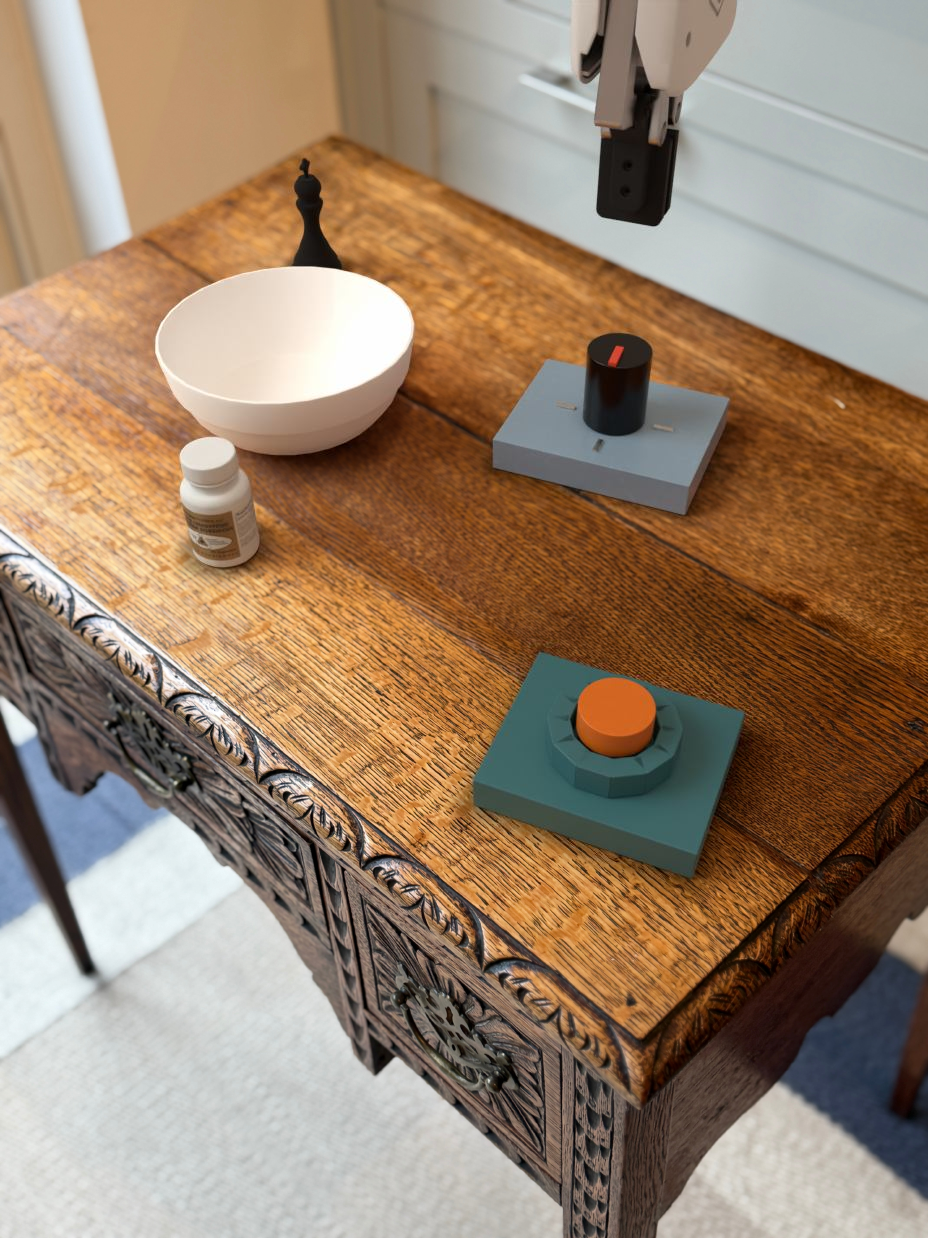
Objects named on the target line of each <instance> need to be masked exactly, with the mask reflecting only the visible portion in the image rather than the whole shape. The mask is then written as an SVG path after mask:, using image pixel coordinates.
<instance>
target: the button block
mask: <svg viewBox="0 0 928 1238" xmlns="http://www.w3.org/2000/svg"><path fill="white" fill-rule="evenodd" d="M606 678H623V679H627V680H630V681H633V682H635V683H638V684H639V685H641V686H642V687H644V688H645V689H646V690H647V691H648V692H649V693H650V694H651V696H652V697H653V699H654V702H655V705H656V716H655V722H654V729H653V735H652V738H651V740H650V742H649V743H648V745H647V746H646V747H645V748H644V749H643V750H641V751H640V752H638V753H636V754H634V755H631V756H627V757H608V756H604V755H601V754H598V753H596V752H594V751H592V750H591V749H589V748H588V747H587V746H586V745H585V744H584V743H583V742H582V740H581V739H580V737H579V735H578V733H577V729H576V721H577V709H578V700H579V697H580V695H581V693H582V692H583V691H584V689H585V688H586V687H587V686H589V685H590V684H592V683H594V682H595V681H598V680H601V679H606ZM745 718H746V712H745V711H743V710H739V709H736V708H734V707H729V706H727V705H726V706H725V705H723V704H719V703H716V702H711V701H709V700H705V699H702V698H699V697H696V696H693V695H692V696H691V695H688V694H685V693H682V692H678V691H675V690H671V689H669V688H665V687H662V686H658V685H655V684H652V683H650V682H648V681H645V680H643V679H638V678H635V677H632V676H628V675H624V674H622V673H613V672H610V671H607V670H604V669H600V668H597V667H594V666H590V665H586V664H583V663H580V662H577V661H573V660H569V659H566V658H563V657H559V656H555V655H552V654H549V653H545V652H542V651H539V652H538V653H537V656H536V658H535V659H534V661H533V664H532V665H531V667H530V669H529V671H528V673H527V675H526V677H525V679H524V681H523V683H522V684H521V686H520V689H519V690H518V691H517V694H516V695H515V698H514V700H513V701H512V704H511V706H510V708H509V710H508V711H507V714H506V716H505V717H504V719H503V721H502V723H501V725H500V727H499V729H498V731H497V733H496V734H495V736H494V737H493V740H492V742H491V744H490V746H489V748H488V750H487V752H486V754H485V755H484V757H483V759H482V761H481V763H480V765H479V767H478V769H477V771H476V773H475V774H474V777H473V778H472V805H473V806H475V807H478V808H481V809H484V810H487V811H490V812H493V813H496V814H499V815H502V816H505V817H508V818H510V819H513V820H516V821H519V822H523V823H525V824H529V825H531V826H533V827H538V828H540V829H543V830H546V831H548V832H552V833H555V834H558V835H560V836H564V837H567V838H570V839H572V840H576V841H579V842H582V843H585V844H587V845H590V846H594V847H596V848H599V849H602V850H604V851H608V852H610V853H614V854H617V855H619V856H622V857H625V858H628V859H632V860H635V861H637V862H640V863H644V864H647V865H649V866H653V867H655V868H659V869H661V870H664V871H667V872H670V873H673V874H676V875H679V876H681V877H685V878H688V879H692V880H693V878H694V875H695V873H696V870H697V867H698V865H699V861H700V858H701V855H702V851H703V848H704V845H705V844H706V840H707V837H708V834H709V831H710V828H711V825H712V822H713V819H714V816H715V813H716V811H717V807H718V804H719V800H720V798H721V796H722V792H723V789H724V786H725V783H726V780H727V776H728V774H729V771H730V769H731V765H732V762H733V759H734V756H735V753H736V751H737V750H736V749H737V747H738V744H739V741H740V737H741V733H742V729H743V726H744V721H745Z"/></svg>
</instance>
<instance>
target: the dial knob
mask: <svg viewBox="0 0 928 1238" xmlns="http://www.w3.org/2000/svg"><path fill="white" fill-rule="evenodd" d="M653 354H654V351H653V348H652V345H651V344H650V343H649V342H648V341H647V340H645V339H644V338H642V337H640V336H638V335H635V334H631V333H625V332H611V333H610V332H609V333H603V334H601V335H599V336H597V337H594V338H593V339H592V340H591V341H589V343H588V345H587V348H586V361H585V367H586V373H585V388H584V402H583V420H584V422H585V424H586V425H587V426H588V427H589V428H591V429H592V430H594V431H596V432H598V433H601V434H605V435H613V436H620V435H627V434H630V433H633V432H635V431H637V430H639V429H640V428H641V427H642V426H643V424H644V422H645V417H646V408H647V399H648V391H649V382H650V381H651V372H652V363H653V356H654V355H653Z"/></svg>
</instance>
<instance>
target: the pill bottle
mask: <svg viewBox="0 0 928 1238" xmlns="http://www.w3.org/2000/svg"><path fill="white" fill-rule="evenodd" d="M236 449H237V448H236V446H234V445H233V444H232V443H231V442H230V441H228V440H226V439H224V438H220V437H218V436H205V437H201V438H197V439H194V440H192V441H190V442H189V443H187V444H185V446H184V447H183V448H181V451H180V452H179V463H180V467H181V472H182V475H183V479H182V481H181V483H180V486H179V498H180V503H181V507H182V511H183V515H184V519H185V522H186V527H187V532H188V536H189V539H190V544H191V547H192V548H191V549H192V552H193V554H194V556H195V557H196V559H197V560H198V561H199V562H201V563H203V564H205V565H208V566H209V567H210V566H211V567H215V568H230V567H235V566H238V565H241V564H244V563H246V562H247V561H248V560H250V559H251V558H252V557H253V556H254V555H255V554H256V553H257V551H258V549H259V547H260V541H261V540H260V539H261V537H260V532H259V526H258V520H257V514H256V509H255V504H254V499H253V493H252V492H253V491H252V488H251V483H250V480H249V477H248V475H247V474H246V473H245V471H244V470H243V469H241V468H240V466H239V465H240V462H239V457H238V454H237V450H236Z"/></svg>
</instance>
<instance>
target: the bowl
mask: <svg viewBox="0 0 928 1238" xmlns="http://www.w3.org/2000/svg"><path fill="white" fill-rule="evenodd" d="M415 329H416V325H415V321H414V317H413V313H412V310H411V309H410V307H409V306H408V305H407V303H406V302H405V300H404V299H403V297H401V295H399V294H398V293H396V292H395V291H394V290H393V289H392V288H391V287H390V286H389V287H388V286H387V285H385V284H384V283H381V282H379V281H377V280H375V279H373V278H370V277H367V276H364V275H362V274H359V273H356V272H352V271H346V270H338V269H331V268H321V267H292V266H282V267H281V266H280V267H271V268H264V269H258V270H253V271H248V272H242V273H239V274H235V275H233V276H229V277H227V278H223V279H220V280H218V281H216V282H213V283H211V284H209V285H206V286H204V287H202V288H200V289H198V290H197V291H195V292H193V293H192V294H190V295H188V296H186V297H185V298H183V299H182V300H181V301H180V302H179V303H178V304H177V305H175V306H174V307H173V308H172V309H171V310H169V312H168V313H167V314H166V316H165V317H164V319H163V320H162V321H161V322H160V324H159V326H158V329H157V331H156V334H155V348H154V349H155V350H154V351H155V356H156V359H157V360H158V364H159V366H160V369H161V371H162V373H163V375H164V378H165V379H166V381H167V384H168V385H169V388H170V390H171V393H172V394H173V396H174V398H175V399H176V400H177V401H178V402H179V404H180V405H181V406H182V408H184V409H185V410H186V411H187V412H189V413H190V414H191V415H192V416H193V417H194V419H195V420H196V421H197V423H198V424H199V425H200V426H201V427H203V428H204V429H206V430H207V431H208V432H210V433H211V434H213V435H215V437H220V438H224V439H226V440H228V441H230V442H231V443H232V444H233V445H234V447H237V448H239V449H242V450H244V451H249V452H252V453H257V454H264V455H273V456H296V455H304V454H313V453H317V452H320V451H321V452H322V451H324V450H329V449H332V448H336V447H337V446H340V445H344V443H347V442H349V441H351V440H353V439H355V438H356V437H358V436H360V435H361V434H363V433H364V432H365V431H367V430H368V429H369V428H370V427H372V425H374V423H375V422H376V421H378V419H379V418H380V417H381V416H383V414H384V413H385V412H386V410H387V409H388V408H389V407H390V405H391V404H392V403H393V401H394V398H395V396H396V394H397V393H398V389H400V387H402V385H403V383H404V381H405V380H406V378H407V377H406V376H407V375H408V372H409V370H410V363H411V357H412V350H413V345H414V340H415Z"/></svg>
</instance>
